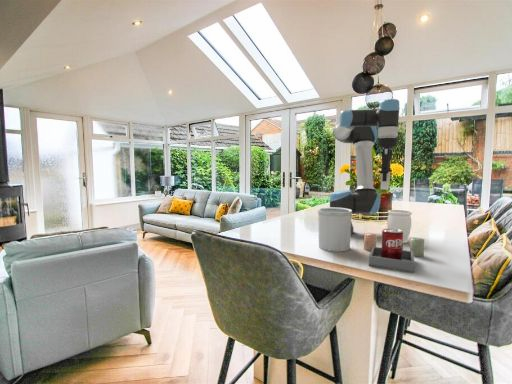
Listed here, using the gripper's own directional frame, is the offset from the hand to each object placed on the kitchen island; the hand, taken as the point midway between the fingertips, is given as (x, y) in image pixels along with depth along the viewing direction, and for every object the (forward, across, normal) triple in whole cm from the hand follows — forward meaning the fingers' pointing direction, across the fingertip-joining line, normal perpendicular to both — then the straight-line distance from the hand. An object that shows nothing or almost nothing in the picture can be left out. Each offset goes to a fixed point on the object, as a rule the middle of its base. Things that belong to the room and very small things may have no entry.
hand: (385, 187), depth 119 cm
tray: (+27, -17, -4) cm, 32 cm away
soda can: (+27, -17, -4) cm, 32 cm away
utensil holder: (+28, -6, +20) cm, 35 cm away
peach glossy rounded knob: (+28, -2, +5) cm, 28 cm away
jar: (+28, +20, -6) cm, 35 cm away
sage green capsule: (+27, -2, -13) cm, 31 cm away
